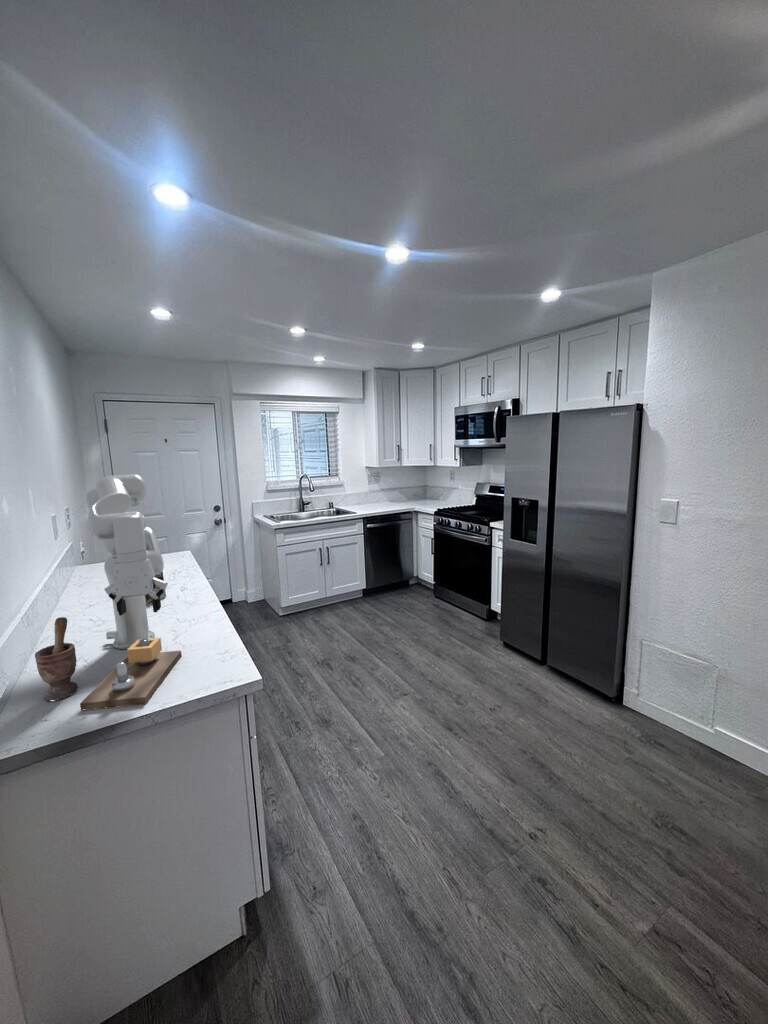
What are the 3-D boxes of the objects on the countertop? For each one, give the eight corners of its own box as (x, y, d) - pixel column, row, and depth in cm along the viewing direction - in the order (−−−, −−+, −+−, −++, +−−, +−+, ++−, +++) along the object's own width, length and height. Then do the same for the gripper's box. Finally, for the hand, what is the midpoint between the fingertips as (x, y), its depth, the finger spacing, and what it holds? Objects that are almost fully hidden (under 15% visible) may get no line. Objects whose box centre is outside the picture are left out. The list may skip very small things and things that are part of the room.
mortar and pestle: (43, 688, 121) (31, 622, 118) (79, 677, 126) (69, 613, 123) (42, 706, 112) (29, 635, 109) (82, 693, 117) (71, 625, 114)
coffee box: (159, 595, 197) (155, 561, 195) (166, 597, 194) (162, 563, 191) (139, 601, 190) (134, 566, 188) (146, 604, 186) (141, 568, 184)
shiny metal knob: (133, 667, 126) (130, 645, 125) (141, 658, 132) (138, 637, 131) (151, 665, 127) (148, 643, 126) (159, 657, 132) (156, 636, 131)
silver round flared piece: (109, 693, 113) (105, 668, 112) (118, 683, 118) (115, 659, 117) (129, 691, 113) (126, 666, 112) (138, 681, 118) (135, 657, 117)
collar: (128, 662, 125) (126, 649, 125) (139, 651, 132) (137, 639, 131) (152, 660, 126) (151, 647, 125) (161, 649, 133) (160, 637, 132)
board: (81, 710, 109) (79, 703, 109) (129, 661, 135) (128, 655, 134) (146, 704, 111) (145, 696, 110) (181, 656, 136) (180, 650, 136)
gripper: (93, 562, 120) (102, 619, 122) (157, 557, 121) (165, 614, 124) (107, 556, 127) (115, 610, 129) (168, 551, 129) (174, 605, 131)
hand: (140, 612), depth 126 cm, fingers open, 9 cm apart
